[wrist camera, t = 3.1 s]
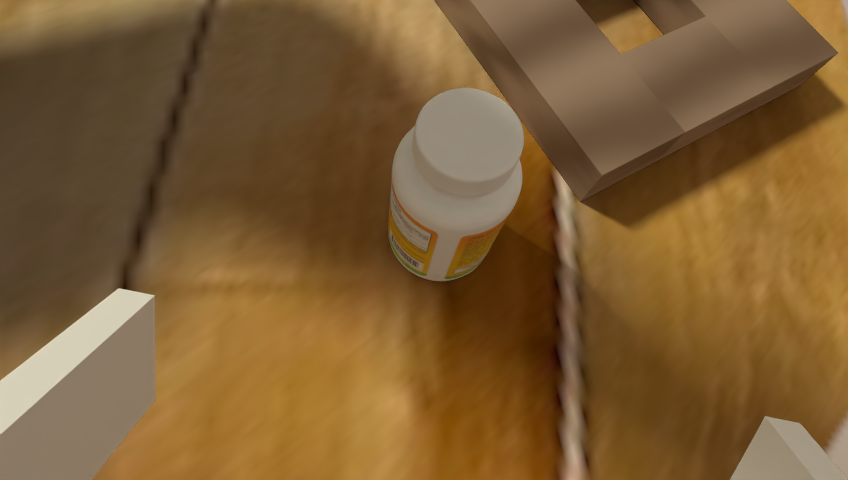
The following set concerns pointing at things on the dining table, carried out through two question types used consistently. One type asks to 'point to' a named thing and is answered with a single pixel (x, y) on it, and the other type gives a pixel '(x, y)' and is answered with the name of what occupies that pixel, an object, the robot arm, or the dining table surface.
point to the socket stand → (635, 75)
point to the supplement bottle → (454, 183)
